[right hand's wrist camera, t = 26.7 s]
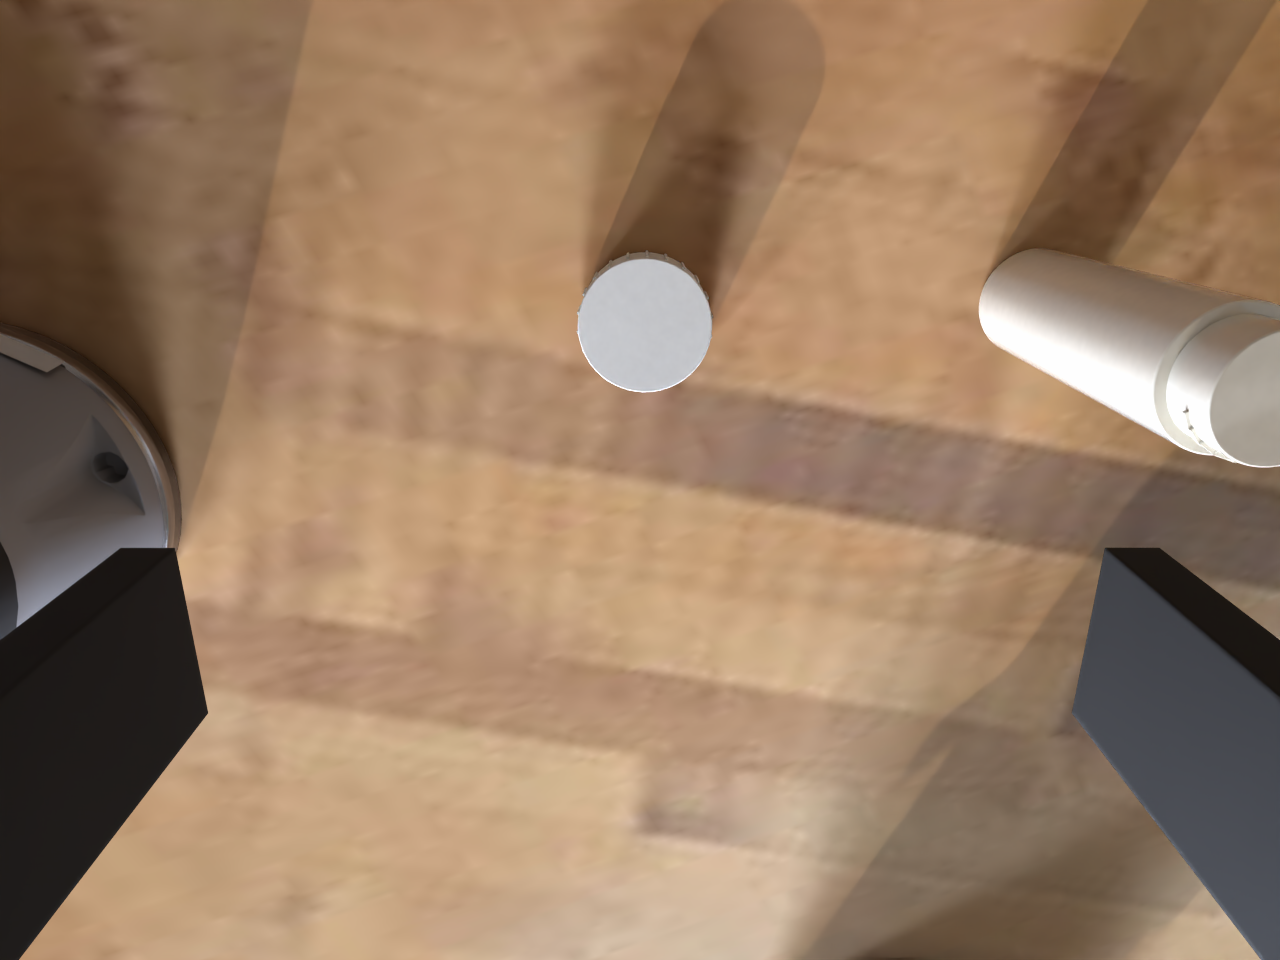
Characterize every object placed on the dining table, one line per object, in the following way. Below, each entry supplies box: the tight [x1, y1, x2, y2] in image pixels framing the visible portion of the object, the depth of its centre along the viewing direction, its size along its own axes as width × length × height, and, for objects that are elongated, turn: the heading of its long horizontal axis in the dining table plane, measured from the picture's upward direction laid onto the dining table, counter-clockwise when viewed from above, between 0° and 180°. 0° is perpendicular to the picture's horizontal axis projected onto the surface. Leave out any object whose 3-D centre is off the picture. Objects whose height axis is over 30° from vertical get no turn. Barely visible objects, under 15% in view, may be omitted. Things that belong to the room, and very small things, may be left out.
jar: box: [979, 248, 1280, 467], centre depth 30 cm, size 4×4×16 cm
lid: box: [577, 250, 713, 392], centre depth 36 cm, size 5×6×2 cm
